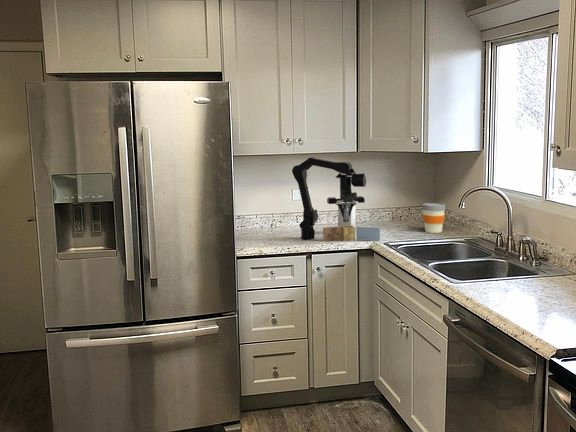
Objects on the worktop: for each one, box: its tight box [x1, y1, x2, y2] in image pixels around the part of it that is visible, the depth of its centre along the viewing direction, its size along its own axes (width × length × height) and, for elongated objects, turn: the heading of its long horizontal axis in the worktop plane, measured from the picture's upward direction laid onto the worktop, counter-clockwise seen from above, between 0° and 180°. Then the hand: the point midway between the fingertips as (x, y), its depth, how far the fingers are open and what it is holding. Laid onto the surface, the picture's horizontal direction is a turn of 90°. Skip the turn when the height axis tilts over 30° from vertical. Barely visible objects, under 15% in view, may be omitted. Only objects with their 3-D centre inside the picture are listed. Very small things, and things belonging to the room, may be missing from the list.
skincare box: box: [337, 205, 357, 228], centre depth 339 cm, size 8×7×16 cm
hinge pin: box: [342, 202, 349, 222], centre depth 319 cm, size 4×4×10 cm
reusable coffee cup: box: [421, 202, 446, 234], centre depth 341 cm, size 13×12×15 cm
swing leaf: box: [355, 226, 381, 241], centre depth 320 cm, size 12×1×7 cm, turn 73°
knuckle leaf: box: [322, 225, 356, 242], centre depth 322 cm, size 16×6×7 cm, turn 98°
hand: (345, 216), depth 320 cm, fingers closed on hinge pin, 3 cm apart
